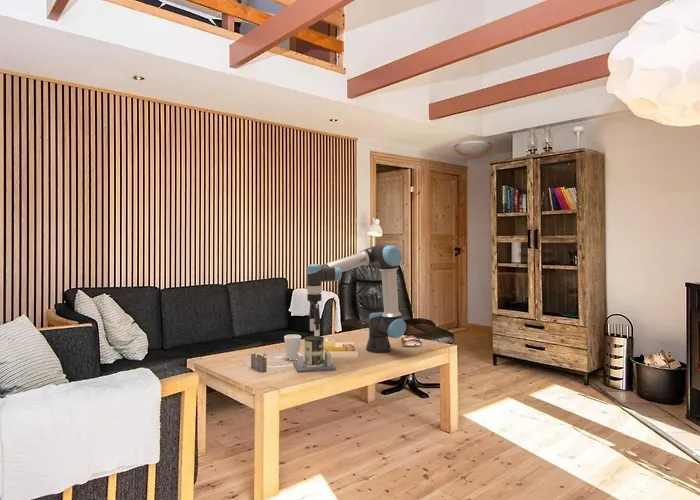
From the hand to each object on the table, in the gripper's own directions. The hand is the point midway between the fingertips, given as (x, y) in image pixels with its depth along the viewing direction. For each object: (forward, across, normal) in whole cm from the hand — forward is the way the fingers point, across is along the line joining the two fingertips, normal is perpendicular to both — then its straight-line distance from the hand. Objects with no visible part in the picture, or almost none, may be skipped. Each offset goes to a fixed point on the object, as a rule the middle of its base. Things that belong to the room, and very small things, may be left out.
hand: (314, 333), depth 255 cm
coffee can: (+17, 0, 0) cm, 17 cm away
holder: (+18, 0, 0) cm, 18 cm away
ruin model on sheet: (+18, -1, -30) cm, 35 cm away
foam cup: (+18, -18, -10) cm, 28 cm away
